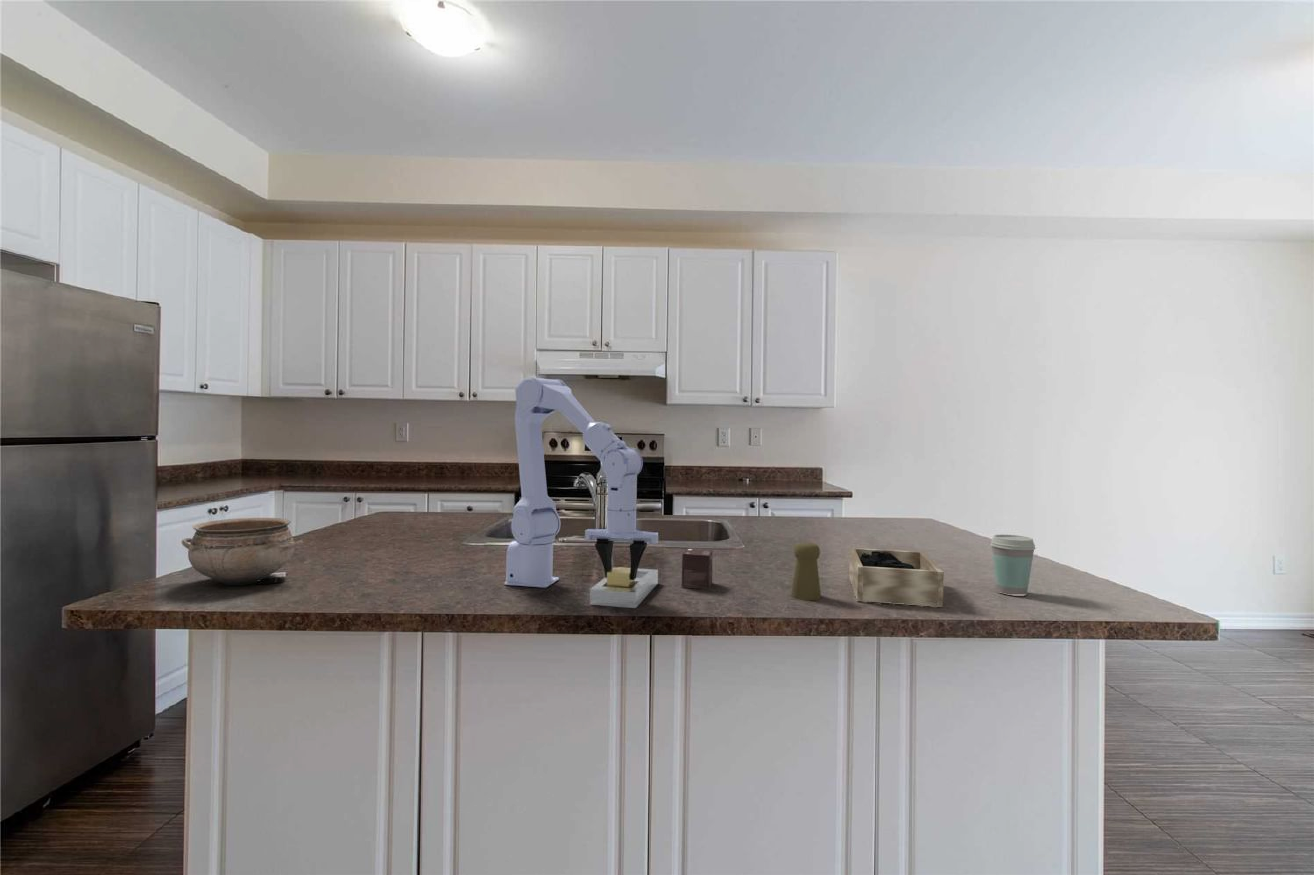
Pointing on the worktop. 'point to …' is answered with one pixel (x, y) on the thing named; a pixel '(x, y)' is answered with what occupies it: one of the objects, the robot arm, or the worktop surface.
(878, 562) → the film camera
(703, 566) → the box
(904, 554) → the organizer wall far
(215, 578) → the cooking pot
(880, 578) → the wall
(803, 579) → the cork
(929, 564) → the wall
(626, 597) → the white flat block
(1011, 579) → the coffee cup
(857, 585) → the organizer wall panel
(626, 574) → the pale yellow wooden cube
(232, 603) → the worktop surface
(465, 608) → the worktop surface
